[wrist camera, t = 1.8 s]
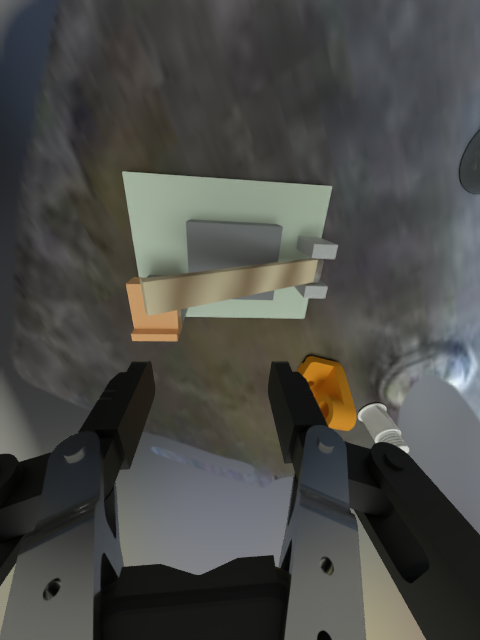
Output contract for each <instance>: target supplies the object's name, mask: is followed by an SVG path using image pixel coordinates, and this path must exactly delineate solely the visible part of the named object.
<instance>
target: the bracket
mask: <svg viewBox="0 0 480 640" xmlns="http://www.w3.org/2000/svg"><path fill="white" fill-rule="evenodd" d="M296 372H299V373H300V374H301V375H302V376H303V377H304V378H306V380H307V382H308V384H309V386H310V390H312V392H313V395H314V397H315V399H316V401H317V403H318V405H319V407H320V410H321V412H322V414H323V416H324V418H325V420H326V422H327V424H328V426H329V428H333V429H339V430H344V431H349V430H351V429H352V428H353V427H354V425H355V423H356V410H355V406H354V403H353V399H352V396H351V393H350V389H349V386H348V382H347V379H346V376H345V372H344V369H343V367H342V366H341V365H340V363H338V362H334V361H330V360H326V359H322V358H318V357H314V356H309V357H307V358H306V360H305V362H304V363H301V364H300V366H299V368H298V369H297V371H296Z"/></svg>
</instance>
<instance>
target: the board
mask: <svg viewBox="0 0 480 640" xmlns="http://www.w3.org/2000/svg"><path fill="white" fill-rule="evenodd" d="M122 174H123V180H124V186H125V193H126V199H127V205H128V211H129V218H130V224H131V230H132V237H133V243H134V249H135V255H136V262H137V268H138V274H139V277H142V278H150V277H159V276H167V275H175V274H184V273H192V272H200V271H208V270H217V269H225V268H233V267H242V266H250V265H258V264H266V263H275V262H283V261H291V260H300V259H308V258H316V259H335V256H336V252H337V248H338V245H337V244H334V243H332V242H329V241H326V240H324V239H321V238H322V233H323V228H324V224H325V219H326V214H327V209H328V205H329V200H330V195H331V191H332V186H322V185H308V184H294V183H279V182H265V181H251V180H236V179H222V178H208V177H194V176H179V175H165V174H151V173H136V172H122ZM327 288H328V286H327V285H325V284H324V283H323V282H322V281H321V280H320V281H319V282H312V283H307V284H302V285H297V286H292V287H287V288H283V289H278V290H273V291H268V292H263V293H258V294H253V295H248V296H244V297H239V298H234V299H229V300H224V301H219V302H214V303H209V304H205V305H200V306H195V307H190V308H185V309H181V318H182V326H183V322H184V319H185V317H238V318H299V319H304V318H305V313H306V308H307V304H308V299H309V298H325V296H326V292H327Z"/></svg>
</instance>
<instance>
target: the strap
mask: <svg viewBox="0 0 480 640" xmlns="http://www.w3.org/2000/svg"><path fill="white" fill-rule="evenodd" d="M323 264H324V259H316V258H308V259H300V260H291V261H283V262H275V263H266V264H258V265H250V266H242V267H233V268H225V269H217V270H208V271H200V272H192V273H184V274H175V275H167V276H159V277H150V278H142V279H140V282H141V289H142V295H143V301H144V308H145V312H146V314H147V315H148V316H151V315H156V314H161V313H166V312H170V311H175V310H180V309H185V308H190V307H195V306H200V305H205V304H209V303H214V302H219V301H224V300H229V299H234V298H239V297H244V296H248V295H253V294H258V293H263V292H268V291H273V290H278V289H283V288H287V287H292V286H297V285H302V284H307V283H312V282H319V281H320V277H321V273H322V268H323Z"/></svg>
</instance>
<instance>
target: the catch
mask: <svg viewBox="0 0 480 640" xmlns="http://www.w3.org/2000/svg"><path fill="white" fill-rule="evenodd" d="M140 279H142V277H133V278H132V279H131V280H130V281H129V282H127V283H126V287H127V293H128V298H129V303H130V308H131V314H132V319H133V324H134V330H133V332H132V333H131V336H132V341H178V338H179V335H180V332H181V329H182V318H181V309H180V310H175V311H170V312H166V313H161V314H156V315H151V316H148V315H147V314H146V312H145V308H144V301H143V295H142V289H141V282H140Z"/></svg>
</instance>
